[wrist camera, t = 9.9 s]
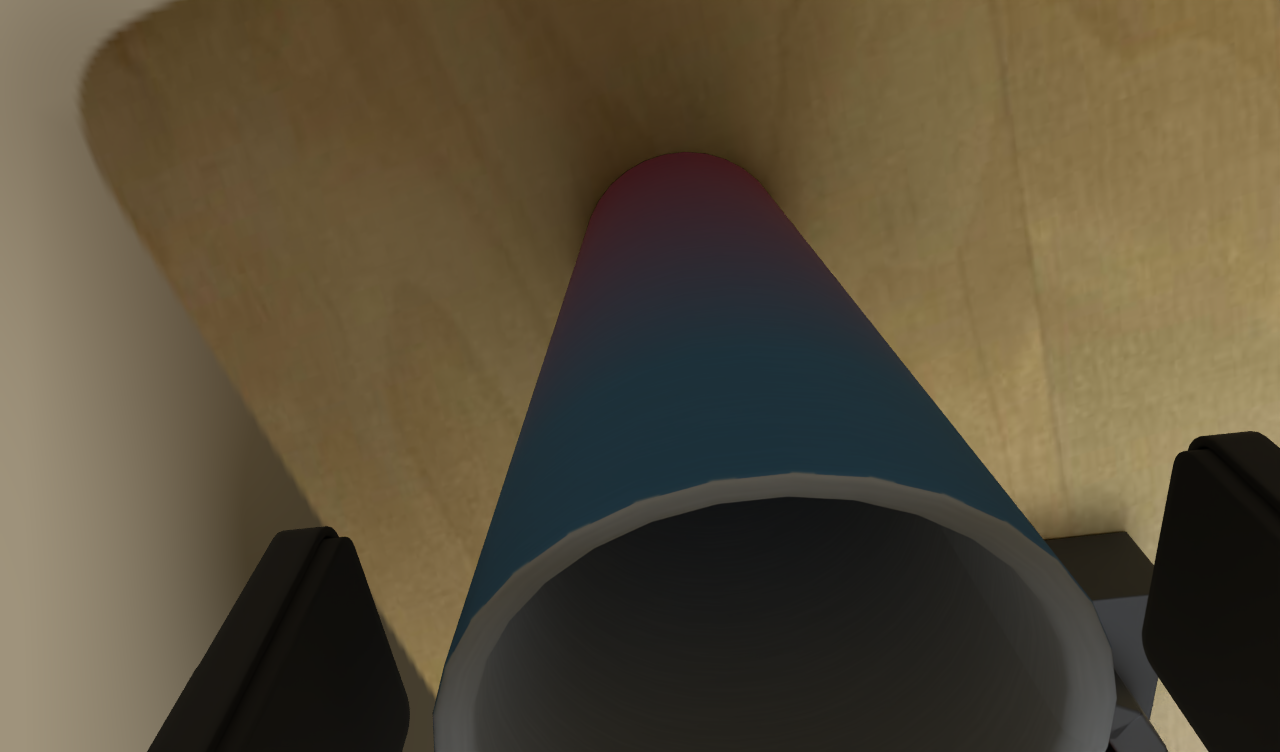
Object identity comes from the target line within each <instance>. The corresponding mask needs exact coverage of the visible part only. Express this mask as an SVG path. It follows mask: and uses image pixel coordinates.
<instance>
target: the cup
mask: <svg viewBox="0 0 1280 752" xmlns="http://www.w3.org/2000/svg"><path fill="white" fill-rule="evenodd" d="M1116 700H1117V695H1116V685H1115V675H1114V665H1113V655H1112V647H1111V645H1110V642H1109V640H1108V638H1107V635H1106V633H1105V630H1104V628H1103V626H1102V623H1101V621H1100V619H1099V616H1098V614H1097V611H1096V609H1095V607H1094V604H1093V602H1092V600H1091V599H1090V597H1089V596H1088V595H1087V594H1086V592H1085V591H1084V590H1083V589H1082V587H1081V586H1080V585H1079V584H1078V582H1077V581H1076V580H1075V579H1074V577H1073V576H1072V575H1071V574H1070V572H1069V571H1068V570H1067V569H1066V567H1065V566H1064V565H1063V564H1062V562H1061V561H1060V560H1059V558H1058V557H1057V556H1056V555H1055V553H1054V552H1053V551H1052V550H1051V548H1050V547H1049V546H1048V545H1047V543H1046V542H1045V541H1044V540H1043V538H1042V537H1041V536H1040V535H1039V533H1038V532H1037V531H1036V530H1035V528H1034V527H1033V526H1032V525H1031V523H1030V522H1029V521H1028V519H1027V518H1026V517H1025V516H1024V514H1023V513H1022V512H1021V511H1020V509H1019V508H1018V507H1017V506H1016V504H1015V503H1014V502H1013V501H1012V499H1011V498H1010V497H1009V496H1008V494H1007V493H1006V492H1005V491H1004V489H1003V488H1002V487H1001V486H1000V484H999V483H998V482H997V481H996V479H995V478H994V477H993V475H992V474H991V473H990V472H989V470H988V469H987V468H986V467H985V465H984V464H983V463H982V462H981V460H980V459H979V458H978V457H977V455H976V454H975V453H974V452H973V450H972V449H971V448H970V447H969V445H968V444H967V443H966V442H965V440H964V439H963V438H962V436H961V435H960V434H959V433H958V431H957V430H956V429H955V428H954V426H953V425H952V424H951V423H950V421H949V420H948V419H947V418H946V416H945V415H944V414H943V413H942V411H941V410H940V409H939V408H938V406H937V405H936V404H935V403H934V401H933V400H932V399H931V398H930V396H929V395H928V394H927V392H926V391H925V390H924V389H923V387H922V386H921V385H920V384H919V382H918V381H917V380H916V379H915V377H914V376H913V375H912V374H911V372H910V371H909V370H908V369H907V367H906V366H905V365H904V364H903V362H902V361H901V360H900V359H899V357H898V356H897V355H896V353H895V352H894V351H893V350H892V348H891V347H890V346H889V345H888V343H887V342H886V341H885V340H884V338H883V337H882V336H881V335H880V333H879V332H878V331H877V330H876V328H875V327H874V326H873V325H872V323H871V322H870V321H869V320H868V318H867V317H866V316H865V314H864V313H863V312H862V311H861V309H860V308H859V307H858V306H857V304H856V303H855V302H854V301H853V299H852V298H851V297H850V296H849V294H848V293H847V292H846V291H845V289H844V288H843V287H842V286H841V284H840V283H839V282H838V281H837V279H836V278H835V277H834V276H833V274H832V273H831V272H830V270H829V269H828V268H827V267H826V265H825V264H824V263H823V262H822V260H821V259H820V258H819V257H818V255H817V254H816V253H815V252H814V250H813V249H812V248H811V247H810V245H809V244H808V243H807V242H806V240H805V239H804V238H803V237H802V235H801V234H800V233H799V231H798V230H797V229H796V228H795V226H794V225H793V224H792V223H791V221H790V220H789V219H788V218H787V216H786V215H785V214H784V213H783V211H782V210H781V209H780V208H779V206H778V205H777V204H776V203H775V201H774V200H773V199H772V198H771V196H770V195H769V194H768V193H767V191H766V190H765V189H764V188H763V186H762V185H761V184H760V183H759V181H758V180H756V179H755V178H754V177H753V176H752V175H750V174H749V173H748V172H747V171H745V170H744V169H743V168H741V167H739V166H737V165H735V164H733V163H732V162H730V161H728V160H726V159H723V158H719V157H716V156H712V155H709V154H704V153H691V152H681V153H673V154H665V155H662V156H659V157H656V158H652V159H649V160H646V161H644V162H642V163H640V164H639V165H637V166H635V167H633V168H632V169H630V170H628V171H626V172H625V173H624V174H623V175H622V176H621V177H619V178H618V179H617V180H616V181H615V182H614V183H612V184H611V186H610V187H609V188H608V190H607V191H606V192H605V193H604V195H603V196H602V197H601V198H600V200H599V202H598V204H597V206H596V208H595V210H594V212H593V214H592V216H591V218H590V221H589V224H588V227H587V230H586V233H585V236H584V239H583V242H582V245H581V249H580V252H579V255H578V258H577V261H576V264H575V267H574V270H573V273H572V276H571V279H570V282H569V285H568V288H567V291H566V294H565V298H564V301H563V304H562V307H561V310H560V313H559V316H558V319H557V322H556V325H555V328H554V331H553V334H552V337H551V340H550V343H549V346H548V350H547V353H546V356H545V359H544V362H543V365H542V368H541V371H540V374H539V377H538V380H537V383H536V386H535V389H534V392H533V395H532V398H531V402H530V405H529V408H528V411H527V414H526V417H525V420H524V423H523V426H522V429H521V432H520V435H519V438H518V441H517V444H516V447H515V451H514V454H513V457H512V460H511V463H510V466H509V469H508V472H507V475H506V478H505V481H504V484H503V487H502V490H501V493H500V496H499V499H498V503H497V506H496V509H495V512H494V515H493V518H492V521H491V524H490V527H489V530H488V533H487V536H486V539H485V542H484V545H483V548H482V551H481V555H480V558H479V561H478V564H477V567H476V570H475V573H474V576H473V579H472V582H471V585H470V588H469V591H468V594H467V597H466V600H465V604H464V607H463V610H462V613H461V616H460V619H459V622H458V625H457V628H456V631H455V634H454V637H453V640H452V643H451V646H450V649H449V652H448V656H447V659H446V662H445V665H444V669H443V673H442V677H441V681H440V685H439V689H438V694H437V698H436V702H435V706H434V710H433V730H434V752H1105V751H1106V749H1107V747H1108V743H1109V738H1110V732H1111V727H1112V722H1113V716H1114V711H1115V706H1116Z"/></svg>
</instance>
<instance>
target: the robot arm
mask: <svg viewBox="0 0 1280 752" xmlns="http://www.w3.org/2000/svg"><path fill="white" fill-rule="evenodd" d="M1142 644H1143V648H1144V652H1145V655H1146V657H1147V660H1148V662H1149V663H1150V665H1151V667H1152V669H1153V670H1154V671H1155V673H1156V674H1157V676H1158V677H1159V679H1160V680H1161V682H1162V683H1163V685H1164V686H1165V688H1166V689H1167V691H1168V692H1169V694H1170V695H1171V697H1172V698H1173V700H1174V701H1175V703H1176V704H1177V706H1178V707H1179V709H1180V710H1181V712H1182V713H1183V714H1184V716H1185V717H1186V719H1187V720H1188V722H1189V723H1190V725H1191V726H1192V728H1193V729H1194V731H1195V732H1196V734H1197V735H1198V737H1199V738H1200V740H1201V741H1202V743H1203V744H1204V746H1205V747H1206V749H1207V750H1208V752H1280V448H1279V447H1278V446H1277V445H1275V444H1274V443H1273V442H1272V441H1271V440H1270V439H1268V438H1267V437H1266V436H1264V435H1262V434H1261V433H1259V432H1253V431H1248V432H1238V433H1228V434H1219V435H1209V436H1200V437H1198V438H1196V439H1194V440H1193V441H1192V443H1191V444H1190V446H1189V449H1188V451H1183V452H1181V453H1179V454H1178V455H1177V456H1176V458H1175V461H1174V464H1173V469H1172V474H1171V479H1170V485H1169V490H1168V495H1167V501H1166V506H1165V511H1164V516H1163V522H1162V527H1161V532H1160V538H1159V543H1158V548H1157V553H1156V559H1155V564H1154V569H1153V575H1152V580H1151V585H1150V590H1149V596H1148V601H1147V606H1146V612H1145V617H1144V622H1143V627H1142ZM409 710H410V709H409V702H408V697H407V694H406V691H405V688H404V686H403V683H402V680H401V677H400V674H399V671H398V669H397V666H396V663H395V660H394V657H393V654H392V652H391V649H390V646H389V643H388V640H387V637H386V634H385V631H384V629H383V626H382V623H381V620H380V617H379V614H378V612H377V609H376V606H375V603H374V600H373V597H372V594H371V592H370V589H369V586H368V583H367V580H366V577H365V574H364V572H363V569H362V566H361V563H360V560H359V557H358V555H357V552H356V549H355V546H354V544H353V542H352V541H351V540H350V538H348V537H339V536H338V534H337V532H336V531H335V530H334V529H333V528H332V527H328V526H325V527H315V528H305V529H296V530H286V531H281V532H279V533H277V535H276V536H275V537H274V538H273V540H272V541H271V543H270V545H269V547H268V548H267V550H266V552H265V553H264V555H263V557H262V558H261V560H260V562H259V564H258V565H257V567H256V569H255V571H254V572H253V574H252V576H251V577H250V579H249V581H248V582H247V584H246V586H245V587H244V589H243V591H242V593H241V594H240V596H239V598H238V600H237V601H236V603H235V605H234V606H233V608H232V610H231V611H230V613H229V615H228V616H227V618H226V620H225V622H224V623H223V625H222V627H221V629H220V630H219V632H218V634H217V635H216V637H215V639H214V640H213V642H212V644H211V645H210V647H209V649H208V651H207V653H206V654H205V656H204V658H203V659H202V661H201V663H200V664H199V666H198V667H197V668H196V670H195V671H194V673H193V675H192V676H191V678H190V680H189V681H188V683H187V685H186V686H185V688H184V690H183V691H182V693H181V695H180V697H179V698H178V700H177V702H176V703H175V705H174V707H173V709H172V710H171V712H170V714H169V716H168V717H167V719H166V720H165V722H164V724H163V726H162V727H161V729H160V731H159V732H158V734H157V736H156V738H155V739H154V741H153V743H152V744H151V746H150V748H149V750H148V751H147V752H402V750H403V746H404V743H405V739H406V736H407V732H408V727H409V719H410V711H409Z"/></svg>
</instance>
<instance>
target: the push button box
mask: <svg viewBox="0 0 1280 752" xmlns="http://www.w3.org/2000/svg"><path fill="white" fill-rule="evenodd" d="M1045 542H1046V543H1047V545H1048V546H1049V547H1050V548H1051V550H1052V551H1053V552H1054V553H1055V555H1056V556H1057V557H1058V558H1059V560H1060V561H1061V562H1062V564H1063V565H1064V566H1065V567H1066V569H1067V570H1068V571H1069V572H1070V574H1071V575H1072V576H1073V577H1074V579H1075V580H1076V581H1077V582H1078V584H1079V585H1080V586H1081V587H1082V589H1083V590H1084V591H1085V592H1086V594H1087V595H1088V596H1089V597H1090V599H1091V600H1092V602H1093V604H1094V607H1095V609H1096V611H1097V614H1098V616H1099V619H1100V621H1101V623H1102V626H1103V628H1104V630H1105V633H1106V635H1107V638H1108V640H1109V642H1110V645H1111V647H1112V655H1113V665H1114V675H1115V685H1116V695H1117V700H1116V706H1115V711H1114V716H1113V722H1112V727H1111V732H1110V738H1109V743H1108V747H1107V749H1106V751H1105V752H1168V750H1167V748H1166V745H1165V744H1164V742H1163V741H1162V739H1161V738H1160V736H1159V735H1158V733H1157V732H1156V730H1155V729H1154V727H1153V725H1152V724H1151V722H1150V721H1149V720H1150V715H1151V711H1152V706H1153V701H1154V696H1155V691H1156V686H1157V681H1158V676H1157V674H1156V673H1155V671H1154V670H1153V669H1152V667H1151V665H1150V663H1149V662H1148V660H1147V657H1146V655H1145V652H1144V648H1143V644H1142V627H1143V622H1144V617H1145V612H1146V606H1147V601H1148V596H1149V590H1150V585H1151V580H1152V575H1153V569H1154V565H1153V564H1152V563H1151V562H1150V560H1149V559H1148V558H1147V557H1146V555H1145V554H1144V553H1143V552H1142V550H1141V549H1140V548H1139V547H1138V546H1137V544H1136V543H1135V542H1134V541H1133V539H1132V538H1131V537H1130V536H1129V534H1128V533H1127V532H1120V533H1110V534H1101V535H1092V536H1082V537H1073V538H1064V539H1054V540H1045Z"/></svg>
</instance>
